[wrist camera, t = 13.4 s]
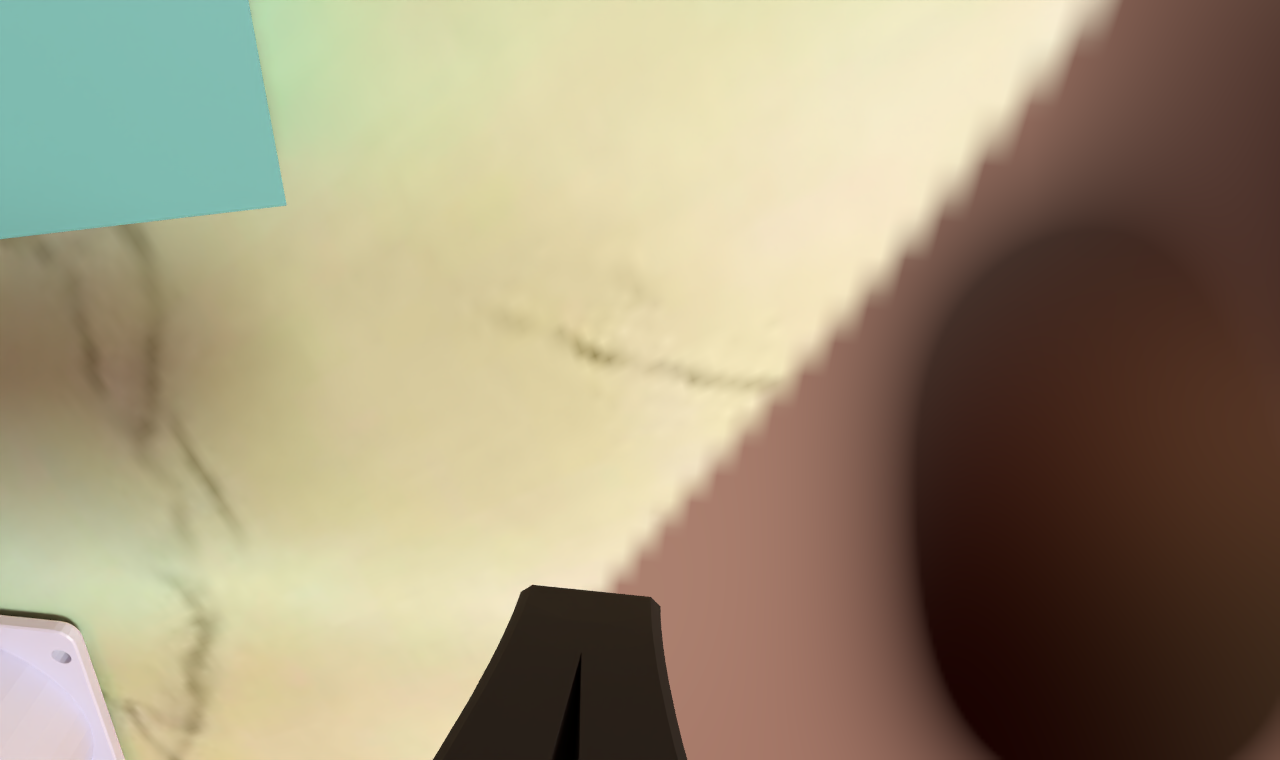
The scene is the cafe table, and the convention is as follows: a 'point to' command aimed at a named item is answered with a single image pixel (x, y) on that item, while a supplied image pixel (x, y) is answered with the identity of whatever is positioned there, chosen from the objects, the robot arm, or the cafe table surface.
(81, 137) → the domino
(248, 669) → the cafe table surface
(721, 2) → the cafe table surface
